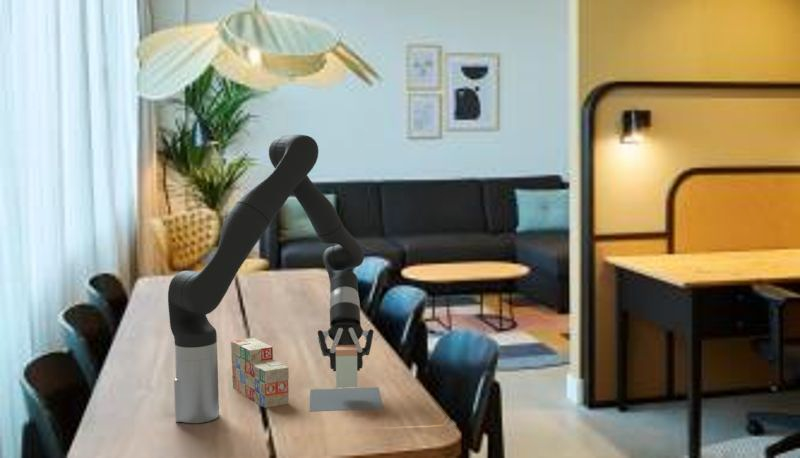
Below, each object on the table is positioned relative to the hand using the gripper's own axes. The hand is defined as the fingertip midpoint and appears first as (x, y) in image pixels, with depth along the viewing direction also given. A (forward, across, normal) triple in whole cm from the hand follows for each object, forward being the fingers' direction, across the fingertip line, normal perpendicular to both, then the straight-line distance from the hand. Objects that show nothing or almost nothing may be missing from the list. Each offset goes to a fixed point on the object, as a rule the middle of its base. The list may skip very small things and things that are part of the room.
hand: (346, 369), depth 199 cm
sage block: (+2, 0, +4) cm, 5 cm away
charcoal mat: (+4, 0, +8) cm, 9 cm away
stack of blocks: (0, -21, +12) cm, 24 cm away
